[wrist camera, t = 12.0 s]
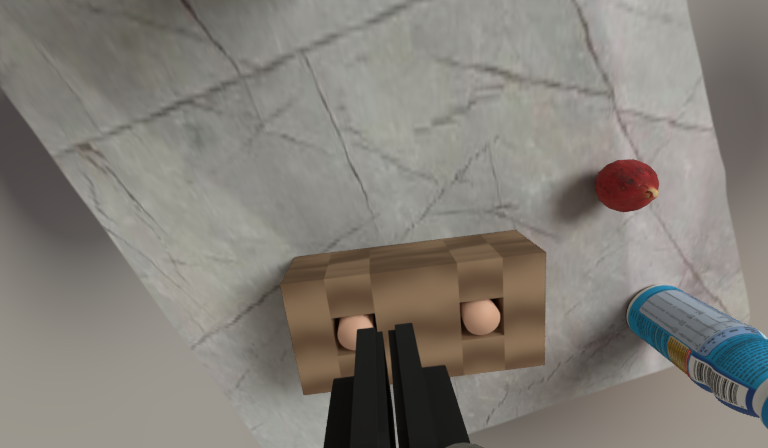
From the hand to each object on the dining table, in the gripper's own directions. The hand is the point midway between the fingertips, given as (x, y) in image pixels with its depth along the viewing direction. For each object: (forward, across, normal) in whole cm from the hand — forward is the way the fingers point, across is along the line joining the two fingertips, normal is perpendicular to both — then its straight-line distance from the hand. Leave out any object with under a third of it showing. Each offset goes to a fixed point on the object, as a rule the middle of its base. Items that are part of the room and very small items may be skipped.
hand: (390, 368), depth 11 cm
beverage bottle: (+33, -36, +22) cm, 54 cm away
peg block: (+33, -3, +15) cm, 36 cm away
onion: (+33, -28, +3) cm, 44 cm away
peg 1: (+33, +4, +15) cm, 36 cm away
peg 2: (+33, -10, +15) cm, 37 cm away
